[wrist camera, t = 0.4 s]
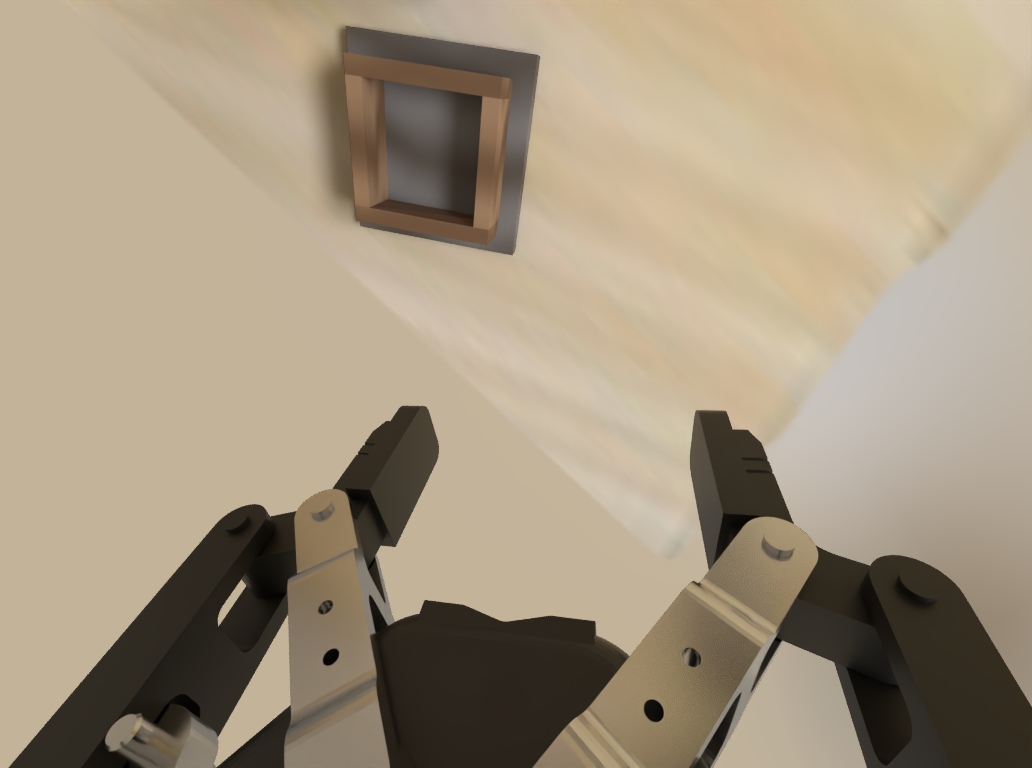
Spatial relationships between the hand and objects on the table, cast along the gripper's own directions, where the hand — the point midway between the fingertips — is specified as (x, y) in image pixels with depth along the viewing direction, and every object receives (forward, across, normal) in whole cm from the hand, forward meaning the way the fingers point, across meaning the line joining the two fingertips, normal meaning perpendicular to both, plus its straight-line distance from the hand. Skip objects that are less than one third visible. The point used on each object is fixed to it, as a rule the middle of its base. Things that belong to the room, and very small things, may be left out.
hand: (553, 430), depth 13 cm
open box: (+28, +12, -6) cm, 31 cm away
